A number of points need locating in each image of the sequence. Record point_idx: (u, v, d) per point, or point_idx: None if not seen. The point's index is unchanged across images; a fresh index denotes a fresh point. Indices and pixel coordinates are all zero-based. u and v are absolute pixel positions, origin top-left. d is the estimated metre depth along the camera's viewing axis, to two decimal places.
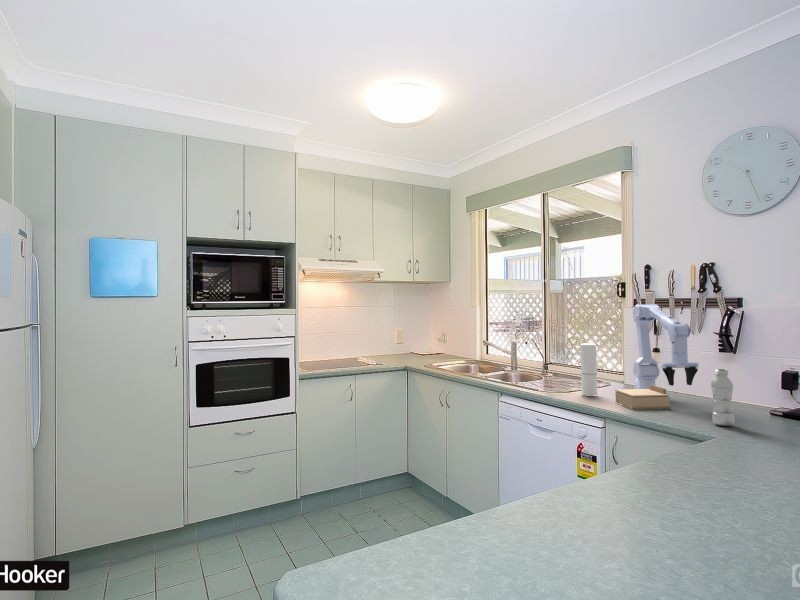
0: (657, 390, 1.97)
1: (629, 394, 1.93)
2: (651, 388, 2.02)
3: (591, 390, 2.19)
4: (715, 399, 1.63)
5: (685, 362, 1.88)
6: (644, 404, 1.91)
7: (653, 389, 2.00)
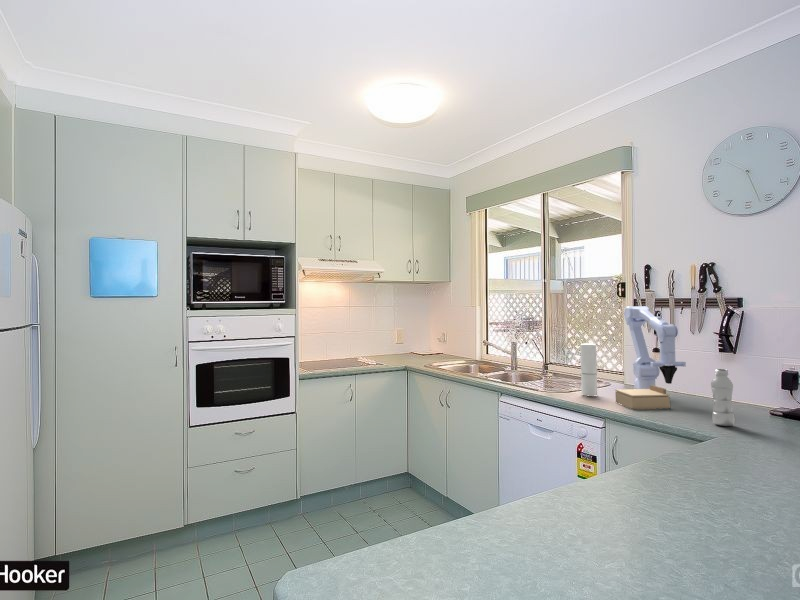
0: (657, 390, 1.97)
1: (629, 394, 1.93)
2: (651, 388, 2.02)
3: (591, 390, 2.19)
4: (715, 399, 1.63)
5: (673, 361, 1.96)
6: (644, 404, 1.91)
7: (653, 389, 2.00)
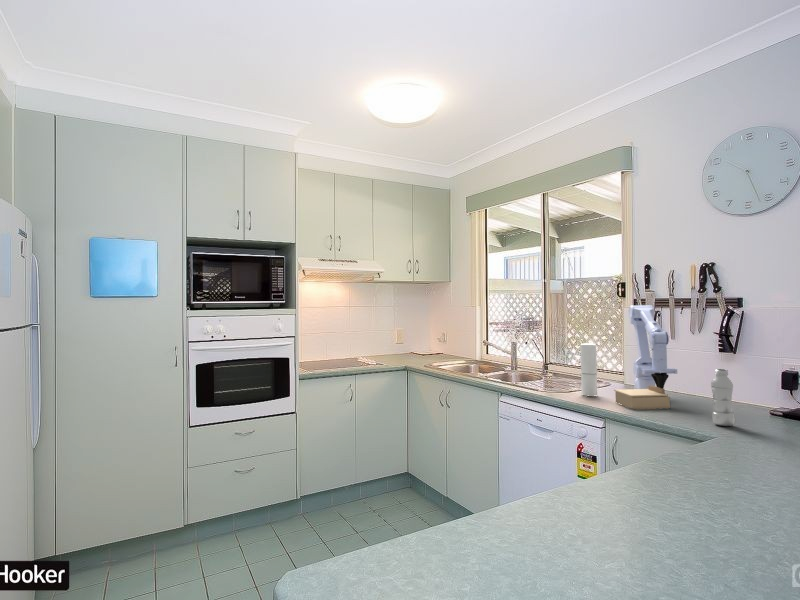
0: (656, 390, 1.97)
1: (628, 394, 1.93)
2: (650, 388, 2.02)
3: (591, 390, 2.19)
4: (715, 399, 1.63)
5: (664, 368, 1.96)
6: (644, 404, 1.91)
7: (652, 389, 2.00)
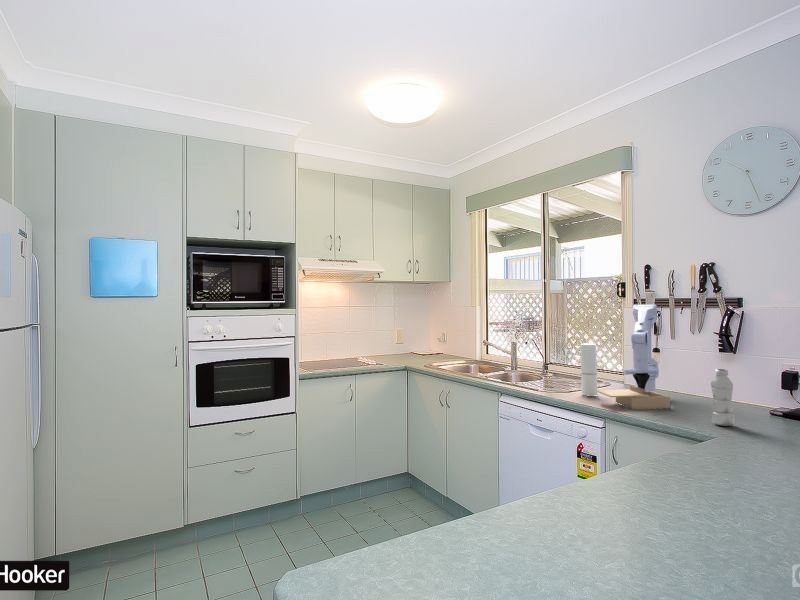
0: (637, 390, 1.97)
1: (608, 394, 1.93)
2: (631, 388, 2.02)
3: (591, 390, 2.19)
4: (715, 399, 1.63)
5: (645, 369, 1.95)
6: (644, 404, 1.91)
7: (633, 389, 2.00)
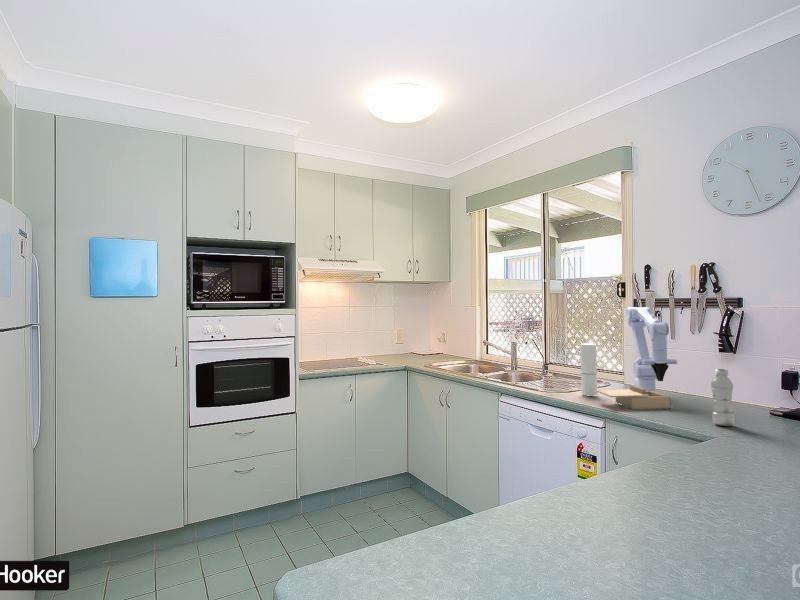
0: (637, 390, 1.97)
1: (608, 394, 1.93)
2: (631, 388, 2.02)
3: (591, 390, 2.19)
4: (715, 399, 1.63)
5: (664, 359, 1.97)
6: (644, 404, 1.91)
7: (633, 389, 2.00)
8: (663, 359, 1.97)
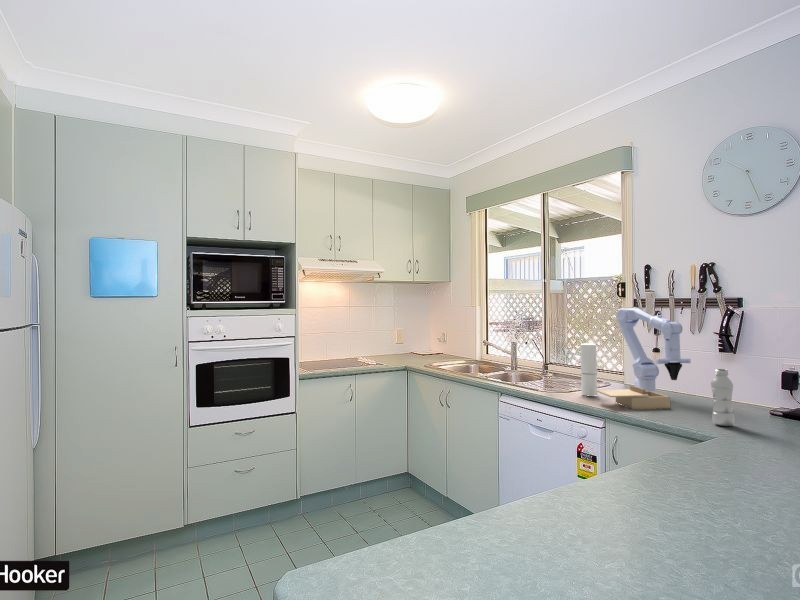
0: (637, 390, 1.97)
1: (608, 394, 1.93)
2: (631, 388, 2.02)
3: (591, 390, 2.19)
4: (715, 399, 1.63)
5: (678, 358, 1.99)
6: (644, 404, 1.91)
7: (633, 389, 2.00)
8: (677, 358, 1.99)
